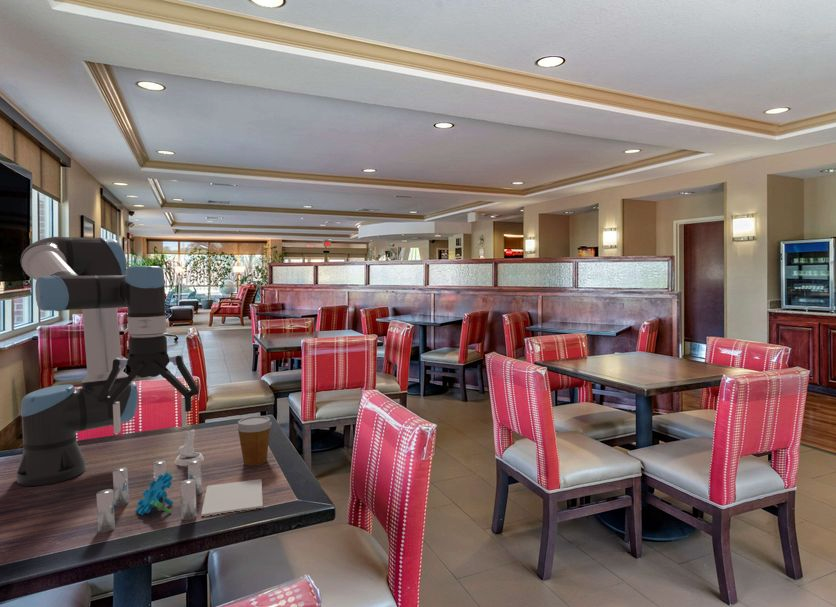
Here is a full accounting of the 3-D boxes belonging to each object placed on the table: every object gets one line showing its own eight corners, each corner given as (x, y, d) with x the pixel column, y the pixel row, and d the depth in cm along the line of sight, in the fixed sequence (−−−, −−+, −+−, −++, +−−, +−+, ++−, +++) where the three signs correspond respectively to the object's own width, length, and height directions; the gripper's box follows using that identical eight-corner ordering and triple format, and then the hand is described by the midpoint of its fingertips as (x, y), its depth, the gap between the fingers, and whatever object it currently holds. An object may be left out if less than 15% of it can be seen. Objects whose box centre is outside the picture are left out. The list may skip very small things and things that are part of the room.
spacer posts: (96, 533, 106) (94, 496, 106) (118, 497, 123) (116, 465, 123) (195, 519, 112) (194, 483, 112) (203, 487, 129) (202, 456, 129)
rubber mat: (201, 516, 113) (201, 514, 113) (207, 488, 129) (207, 485, 129) (262, 508, 117) (262, 505, 117) (261, 481, 133) (261, 479, 133)
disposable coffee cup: (244, 455, 151) (243, 415, 151) (276, 455, 151) (275, 415, 150) (232, 468, 142) (230, 425, 141) (266, 468, 141) (265, 425, 141)
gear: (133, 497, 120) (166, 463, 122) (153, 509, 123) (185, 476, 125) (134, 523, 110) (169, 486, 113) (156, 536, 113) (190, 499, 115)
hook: (190, 453, 139) (174, 437, 141) (183, 480, 145) (168, 464, 147) (214, 440, 145) (198, 424, 147) (206, 466, 151) (190, 450, 153)
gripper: (77, 340, 107) (82, 440, 108) (206, 334, 115) (209, 427, 116) (88, 336, 114) (93, 429, 116) (209, 330, 122) (212, 419, 123)
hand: (151, 429), depth 116 cm, fingers open, 13 cm apart
